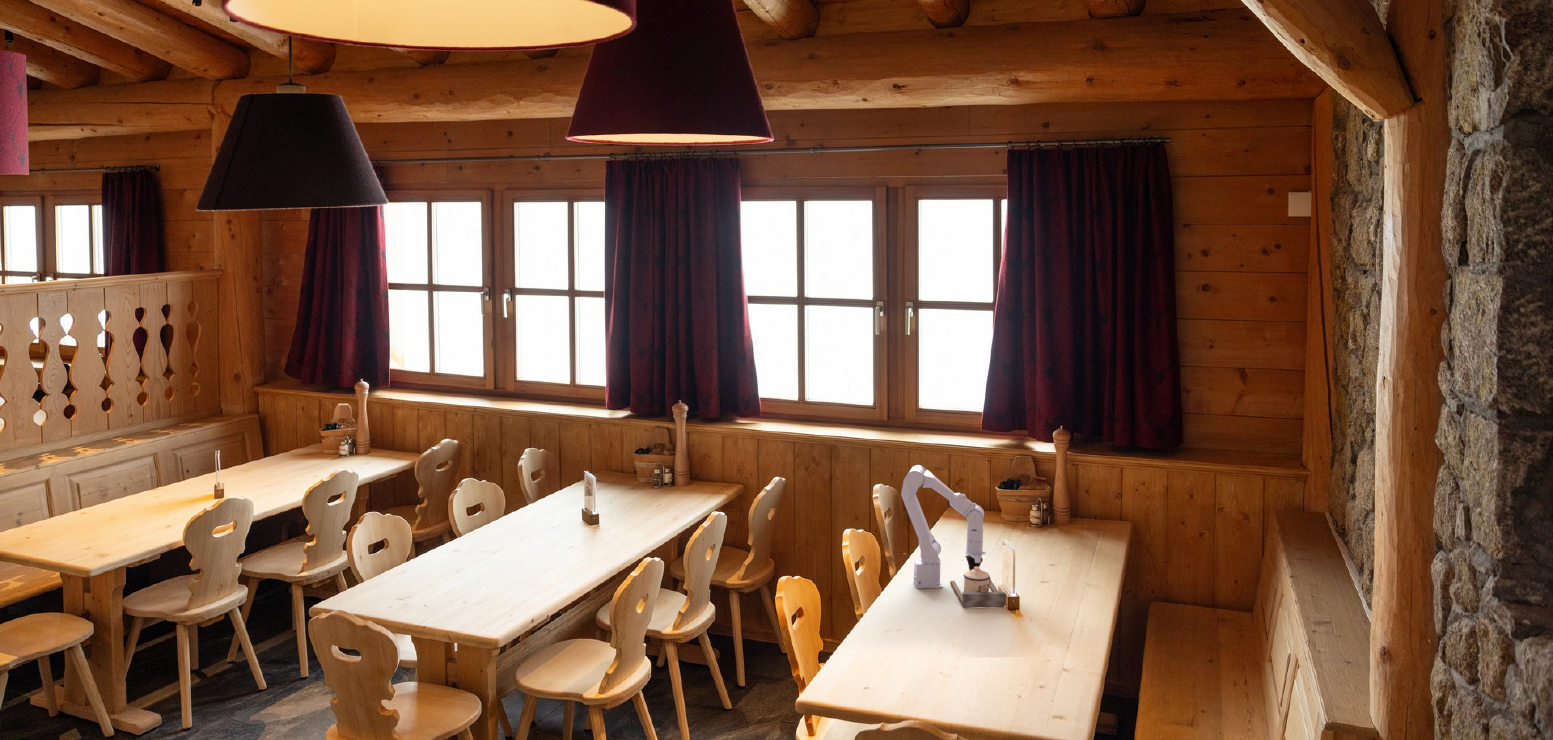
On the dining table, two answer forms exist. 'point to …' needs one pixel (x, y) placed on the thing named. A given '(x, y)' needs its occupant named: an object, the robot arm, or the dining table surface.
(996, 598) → the guide track
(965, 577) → the teacup with lid
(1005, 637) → the dining table surface
